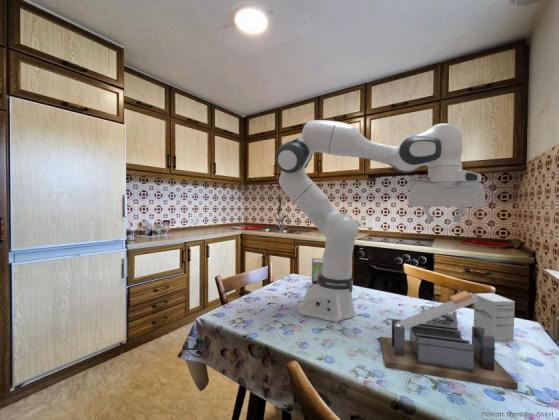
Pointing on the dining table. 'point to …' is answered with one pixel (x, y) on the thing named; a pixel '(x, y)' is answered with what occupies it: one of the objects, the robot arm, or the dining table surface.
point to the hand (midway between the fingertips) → (443, 221)
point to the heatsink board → (444, 372)
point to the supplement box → (495, 316)
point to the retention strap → (439, 310)
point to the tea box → (316, 269)
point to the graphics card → (443, 319)
